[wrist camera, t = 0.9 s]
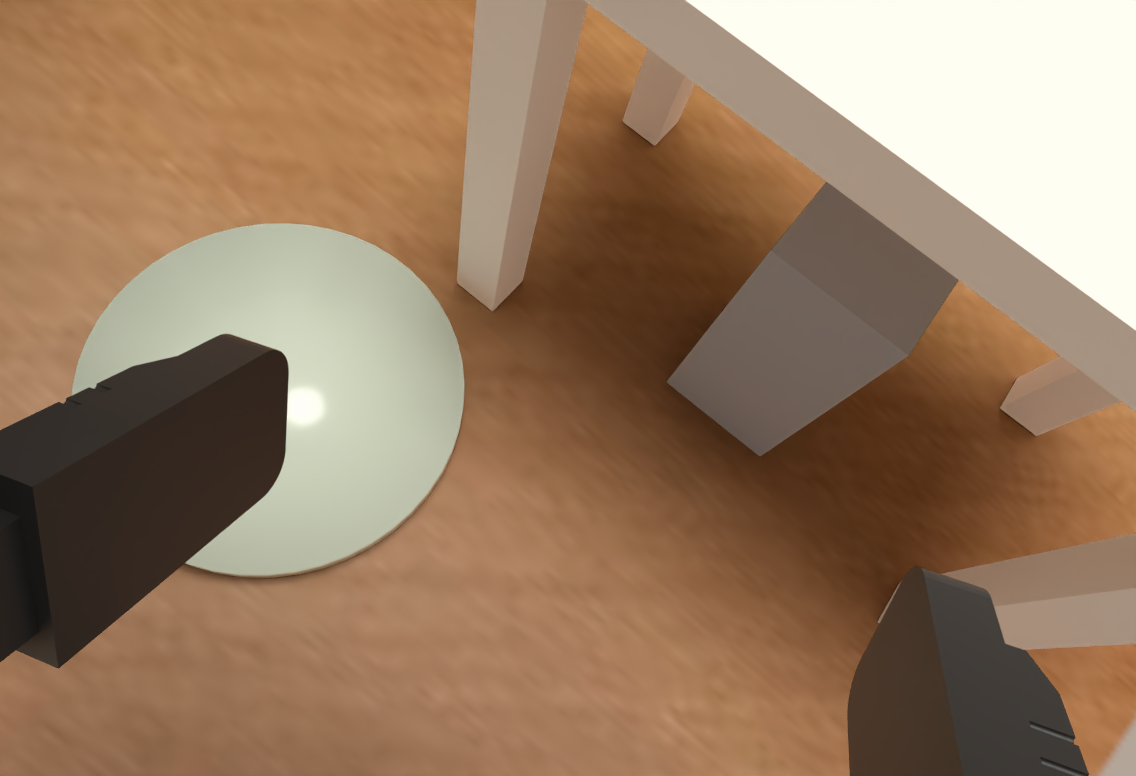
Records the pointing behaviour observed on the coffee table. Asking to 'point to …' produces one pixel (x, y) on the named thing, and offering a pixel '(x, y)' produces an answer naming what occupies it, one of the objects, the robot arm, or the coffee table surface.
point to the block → (812, 323)
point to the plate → (307, 381)
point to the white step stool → (888, 185)
